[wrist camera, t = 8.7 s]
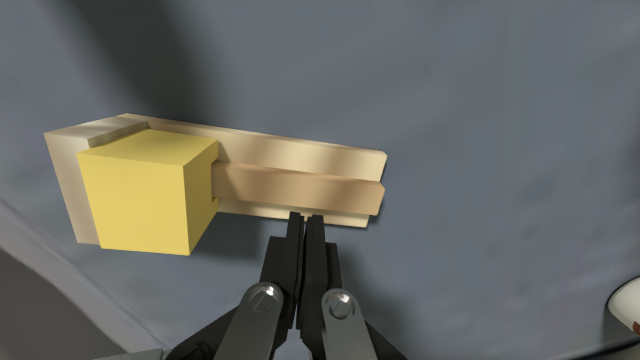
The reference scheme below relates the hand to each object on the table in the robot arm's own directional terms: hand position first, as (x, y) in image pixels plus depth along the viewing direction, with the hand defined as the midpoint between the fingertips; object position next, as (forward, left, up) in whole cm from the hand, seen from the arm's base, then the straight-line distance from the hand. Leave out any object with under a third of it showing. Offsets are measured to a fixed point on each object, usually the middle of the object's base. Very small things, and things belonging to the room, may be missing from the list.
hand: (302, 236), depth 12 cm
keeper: (+9, +1, -8) cm, 12 cm away
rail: (+4, +1, -9) cm, 10 cm away
